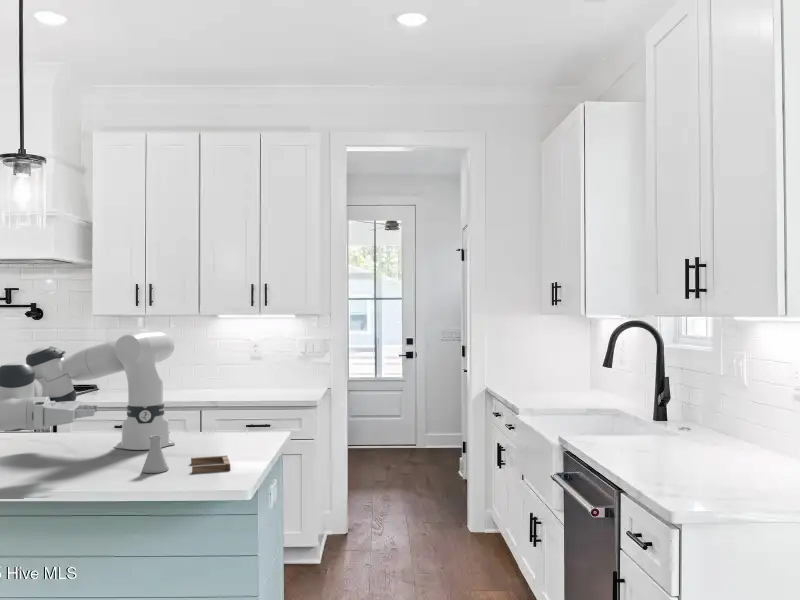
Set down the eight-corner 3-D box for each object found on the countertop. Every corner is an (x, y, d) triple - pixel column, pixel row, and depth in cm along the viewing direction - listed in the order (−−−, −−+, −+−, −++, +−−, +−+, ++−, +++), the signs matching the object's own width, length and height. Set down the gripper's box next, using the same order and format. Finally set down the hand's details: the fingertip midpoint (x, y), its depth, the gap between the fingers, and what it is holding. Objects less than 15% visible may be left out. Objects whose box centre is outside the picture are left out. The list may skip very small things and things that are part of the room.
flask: (160, 474, 198) (160, 438, 198) (136, 473, 199) (136, 438, 200) (173, 468, 205) (173, 434, 205) (150, 467, 206) (150, 433, 207)
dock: (191, 463, 211) (191, 457, 211) (227, 461, 215) (227, 455, 215) (192, 473, 199) (192, 466, 199) (230, 470, 202) (230, 464, 202)
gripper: (47, 418, 203) (99, 416, 208) (34, 430, 184) (92, 427, 188) (48, 396, 203) (99, 395, 208) (34, 406, 184) (92, 403, 188)
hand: (96, 410), depth 198 cm, fingers open, 7 cm apart
